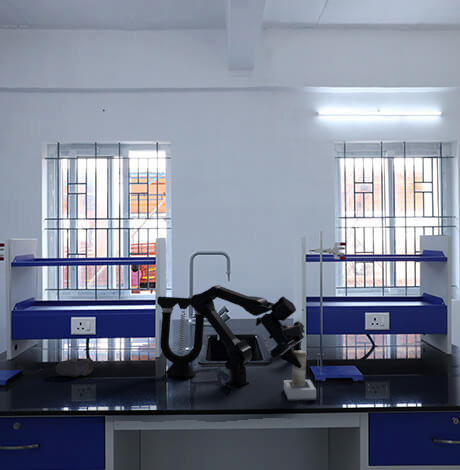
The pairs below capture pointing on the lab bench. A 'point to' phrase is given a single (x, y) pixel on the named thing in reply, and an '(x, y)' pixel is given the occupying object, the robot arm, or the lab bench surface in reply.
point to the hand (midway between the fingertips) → (303, 365)
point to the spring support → (179, 362)
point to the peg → (299, 369)
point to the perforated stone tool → (75, 367)
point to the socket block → (299, 391)
